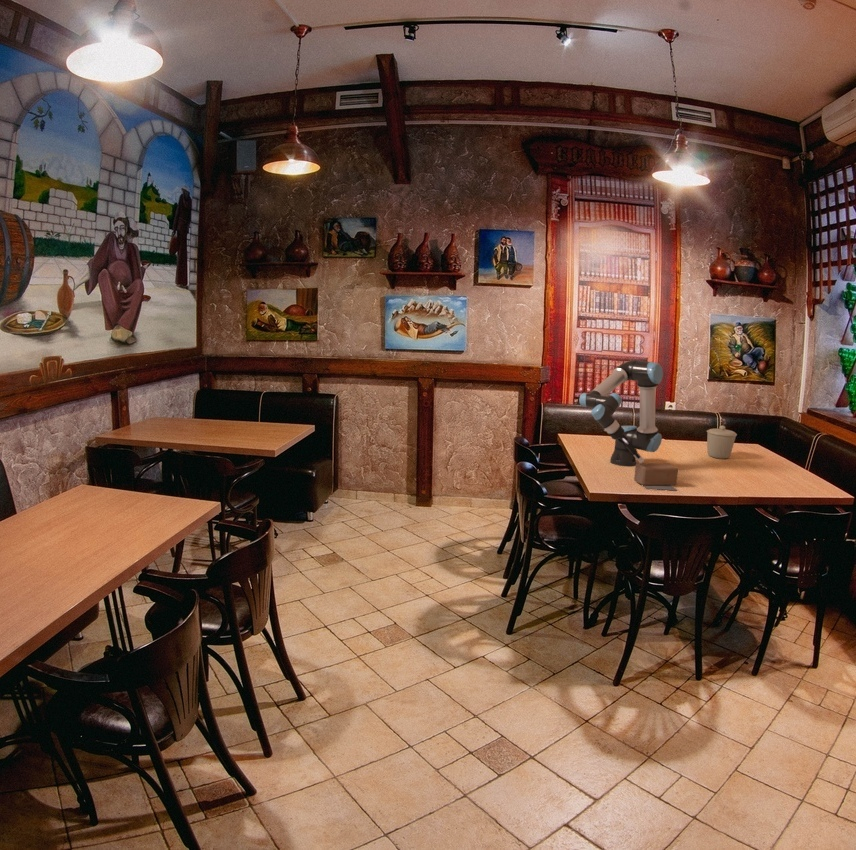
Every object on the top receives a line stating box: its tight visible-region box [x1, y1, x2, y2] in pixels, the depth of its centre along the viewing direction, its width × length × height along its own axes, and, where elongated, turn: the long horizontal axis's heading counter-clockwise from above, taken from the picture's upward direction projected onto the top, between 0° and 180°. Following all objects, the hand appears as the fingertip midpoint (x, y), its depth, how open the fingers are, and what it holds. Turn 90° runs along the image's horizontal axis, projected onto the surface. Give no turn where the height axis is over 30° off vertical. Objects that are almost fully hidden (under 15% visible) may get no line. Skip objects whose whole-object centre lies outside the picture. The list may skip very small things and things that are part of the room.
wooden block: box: [633, 462, 679, 486], centre depth 328 cm, size 10×10×20 cm
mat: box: [642, 485, 678, 492], centre depth 326 cm, size 16×16×1 cm
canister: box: [706, 425, 738, 460], centre depth 397 cm, size 18×18×21 cm
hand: (642, 461), depth 324 cm, fingers closed
